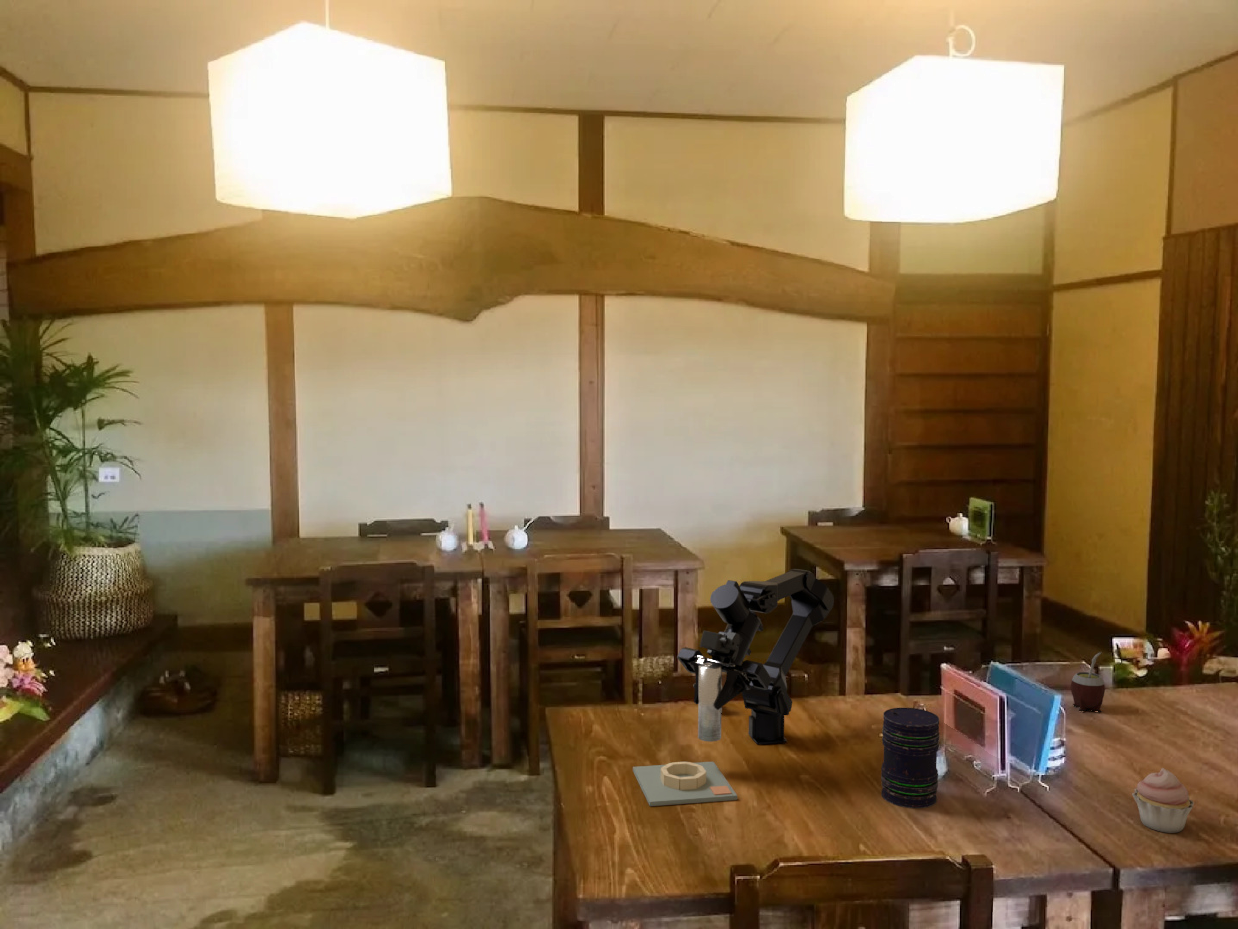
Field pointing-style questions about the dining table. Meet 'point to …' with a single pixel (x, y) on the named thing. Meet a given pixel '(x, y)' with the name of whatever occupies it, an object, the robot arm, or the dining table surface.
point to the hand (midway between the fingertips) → (705, 706)
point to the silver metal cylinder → (709, 702)
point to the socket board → (683, 783)
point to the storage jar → (910, 757)
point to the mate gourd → (1088, 689)
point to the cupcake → (1163, 802)
